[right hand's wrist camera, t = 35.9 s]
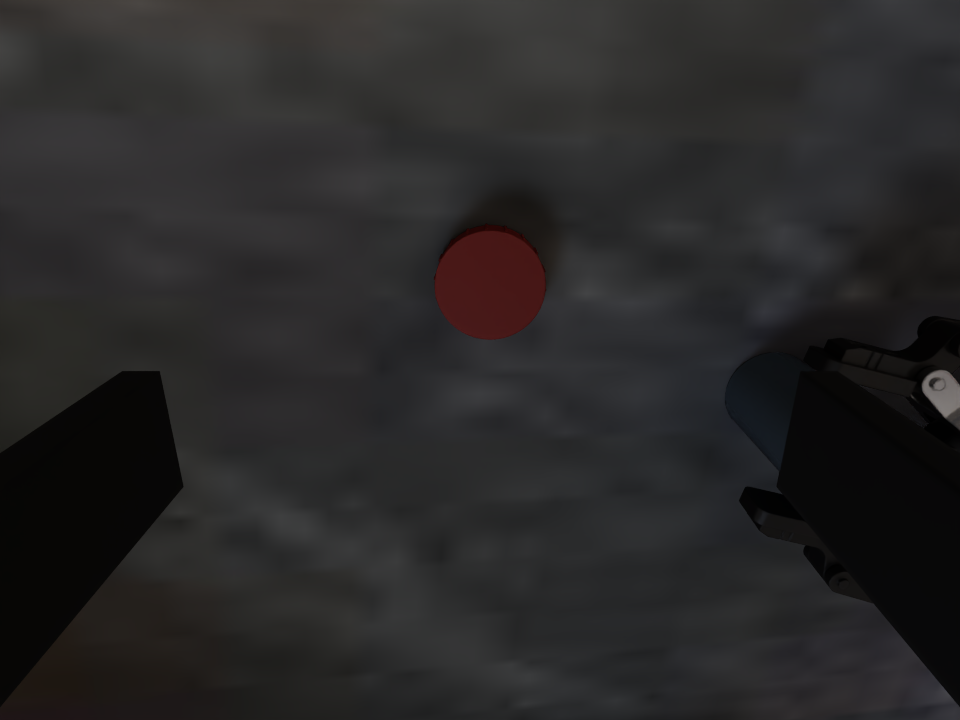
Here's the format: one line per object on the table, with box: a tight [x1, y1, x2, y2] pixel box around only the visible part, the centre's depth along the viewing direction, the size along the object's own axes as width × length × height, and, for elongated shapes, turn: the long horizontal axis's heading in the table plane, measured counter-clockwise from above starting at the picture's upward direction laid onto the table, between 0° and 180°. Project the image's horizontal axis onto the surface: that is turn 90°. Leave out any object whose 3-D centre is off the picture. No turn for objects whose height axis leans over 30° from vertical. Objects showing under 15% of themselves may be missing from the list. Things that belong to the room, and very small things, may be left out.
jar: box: [725, 352, 816, 472], centre depth 25 cm, size 5×5×15 cm
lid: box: [434, 224, 546, 340], centre depth 29 cm, size 5×5×2 cm
